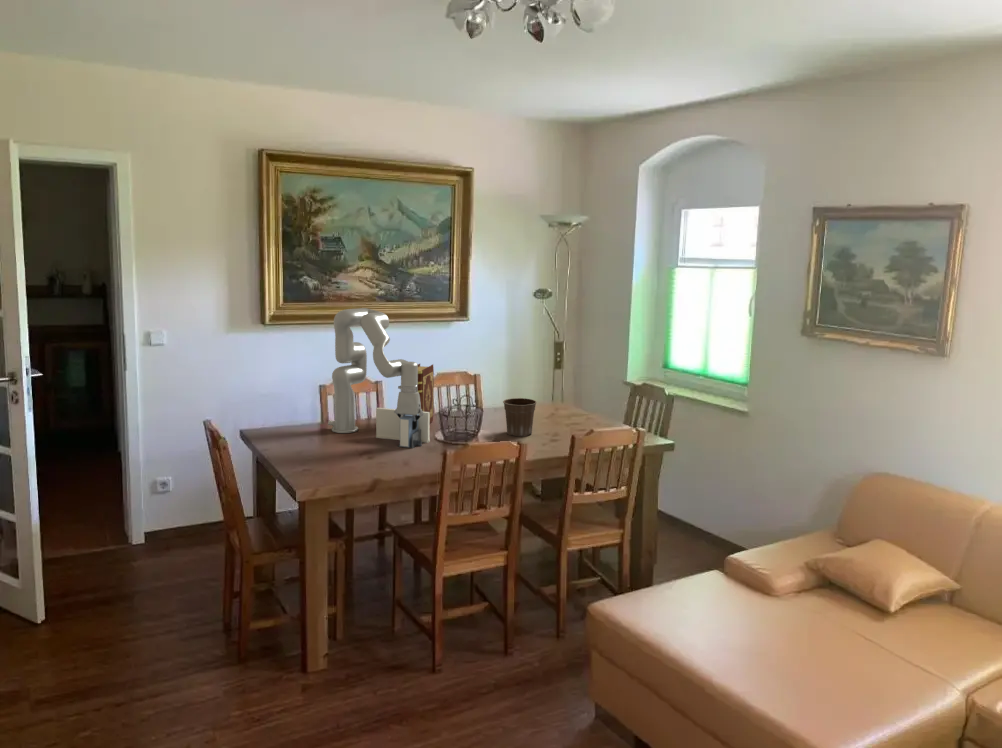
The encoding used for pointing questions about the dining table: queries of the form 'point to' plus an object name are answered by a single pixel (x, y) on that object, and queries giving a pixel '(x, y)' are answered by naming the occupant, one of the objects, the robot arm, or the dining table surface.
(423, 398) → the decorative book
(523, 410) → the plant pot
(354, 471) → the dining table surface
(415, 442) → the bookend
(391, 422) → the shelf wall
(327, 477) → the dining table surface
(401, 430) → the boxed book
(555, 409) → the dining table surface
